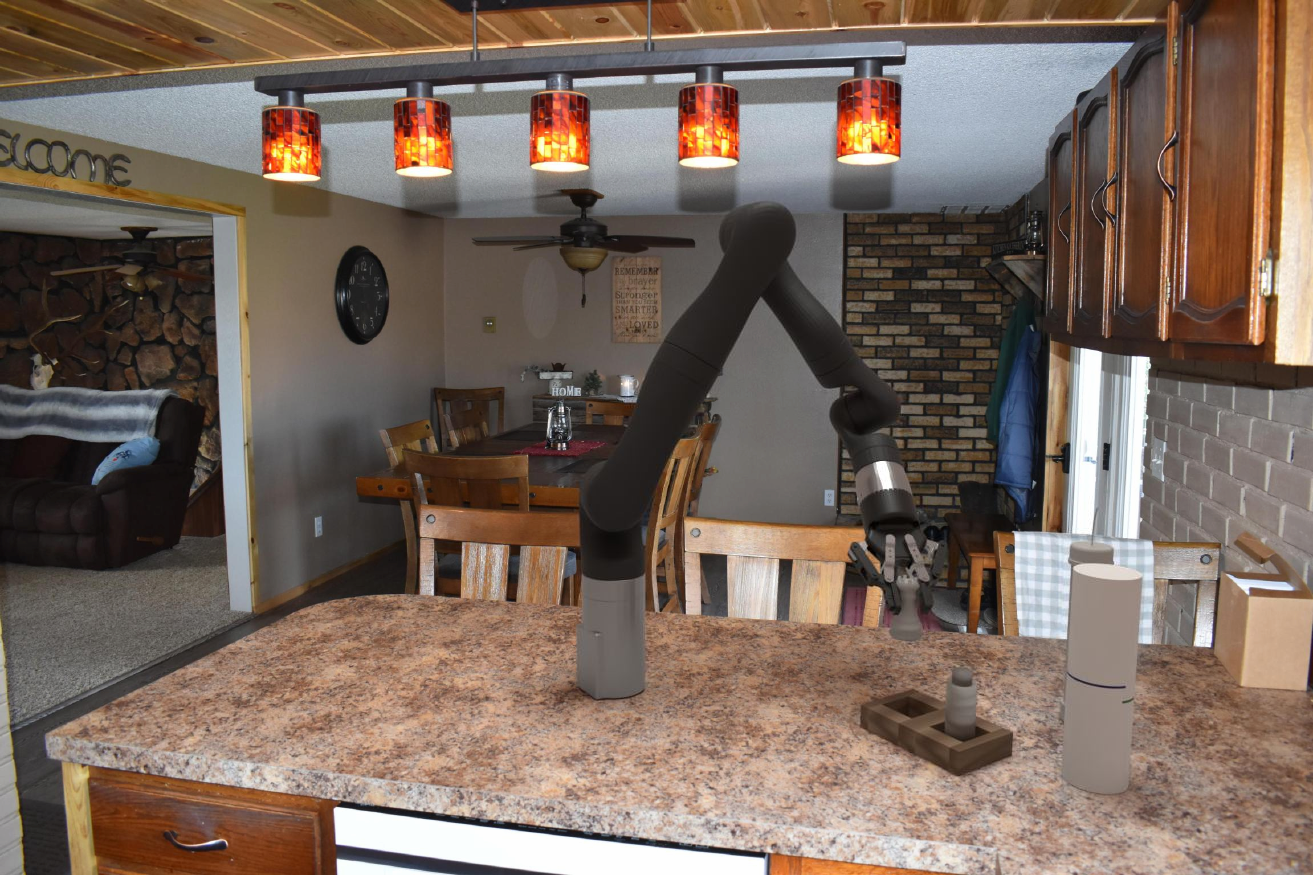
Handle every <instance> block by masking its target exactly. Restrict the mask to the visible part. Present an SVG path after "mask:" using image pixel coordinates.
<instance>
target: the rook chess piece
mask: <svg viewBox="0 0 1313 875" xmlns="http://www.w3.org/2000/svg"><path fill="white" fill-rule="evenodd" d="M907 576H908V575H907V574H902V575H898V576H897V579H896V581H895V582H894V583H896V585H897V590H898V594H899V598H900V603H901V611H900V613H899V615H892V619H891V620H890V622H889V625H888V626H889V627H890V629H889V630H888V633H889V635H890V637H891V638H893V639H895V640H897V641H903V642H917V641H919V640H921V638H922V637H923V636H924V633H923V632H922V630H923V628H924V627H923V623H922V622H921V621H920V620H921V618H919V615H918V609H917V608H918V607H917V600H918V599H917V598H918V596H917V595H916V590H917V589H918V588H919V587H920V585H919V583H918V582H917V577H914V576H911V575H910V576H909V577H907Z"/></svg>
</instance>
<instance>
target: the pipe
mask: <svg viewBox="0 0 1313 875" xmlns="http://www.w3.org/2000/svg"><path fill="white" fill-rule="evenodd" d="M1098 510H1099V506H1096V509H1095V512H1094V515H1093V516H1094V517H1093V522H1092V529H1091V530H1092V531H1091V540H1089V541H1087V540H1079V541H1078V540H1077V541H1074V542H1071V544H1070V545H1069V556H1068V558H1067V563H1068V565H1070V579H1069V581H1070V583H1069V598H1068V613H1067V615H1068V616H1067V628H1066V629H1067V632H1066V647H1065V648H1066V649H1065V665H1064V666H1065V667H1064V680H1063V681H1064V684H1063V696H1062V697H1060V699H1059V706H1060V715H1059V717H1060V719H1061V721H1062V722H1063V723H1064V715H1065V698H1066V681H1067V664H1068V647H1069V629H1070V612H1071V596H1072V579H1073V567H1074V566H1076V565H1079V564H1089V563H1096V564H1109V565H1115V561H1114V553H1115V547H1113V546H1112V545H1110V544H1108V543H1104V542H1099V541H1094V535H1095V534H1094V533H1095V527H1096V526H1095V525H1096V519H1097V514H1098Z"/></svg>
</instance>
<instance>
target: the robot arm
mask: <svg viewBox="0 0 1313 875" xmlns="http://www.w3.org/2000/svg"><path fill="white" fill-rule="evenodd" d="M796 239H797V226H796V221H795V218H794V216H793V214H792V213H791V211H790V210H789V209H788V208H787V207H786V206H785V205H784V204H782V203H779V202H775V201H770V200H762V201H755V202H752V203H747V204H744V205H741V206H740V205H739V206H737V207H736V208H734V209H732V210H731V211H729V212H728V213H727V214H726V215H725V217H724V218H723V219H722V221H721V223H720V226H719V230H718V240H719V245H720V249H721V251H722V253H723V257H722V259H721V261H720V263H719V265H718V267H717V269H716V271H715V272H714V275H713V276H712V278H711V279H710V281H709V282H708V284H707V285H706V287H705V288H704V289H703V291H702V292H701V293H699V295H698V296H697V297H696V298H695V299H694V300H693V302H692V303H691V304H690V305H689V306H688V307H687V308H686V309H685V311H683V313H682V314H681V315H680V316H679V318H678V319H677V320H676V321H675V323H674V324H673V326H672V327H671V328H670V329H669V331H668V333H667V334H666V336H665V337H664V338H663V341H662V342H661V344H660V346H659V348H658V349H657V352H656V353H655V354H654V357H653V358H652V361H651V363H650V364H649V367H648V369H647V371H646V373H645V376H644V378H643V381H642V383H641V386H640V389H639V392H638V394H637V398H636V401H635V405H634V408H633V411H632V415H631V417H630V420H629V422H628V425H627V427H626V429H625V431H624V433H623V435H622V437H620V440H619V442H617V444H616V447H615V448H614V449H613V451H612V452H611V453H610V456H608V458H607V460H601V461H600V462H597V463H595V464H593V465H592V466H591V467H589V468H588V470H587V471H586V472H584V475H583V476H582V479H581V481H580V485H579V488H578V490H579V491H578V494H579V495H578V515H579V516H578V518H579V521H578V523H579V550H580V552H579V553H580V560H581V562H580V563H581V564H580V565H581V622H579V623H577V624H576V628H575V629H576V686H577V687H578V688H579V689H581V690H582V691H584V692H585V693H587V694H588V695H589V696H591V697H592V698H594V699H595V700H601V699H622V698H629V697H632V696H635V695H638V694H639V693H641V692H642V691H643V690H644V689H646V554H645V548H644V541H643V524H642V523H643V520H642V519H643V517H644V516H645V514H646V512H647V510H648V508H649V506H650V504H651V501H652V499H653V496H654V494H655V491H656V489H657V487H658V485H659V482H660V481H661V478H662V476H663V474H664V471H665V468H666V466H667V464H668V462H669V460H670V458H671V455H672V453H673V452H674V450H675V449H676V448H677V447H676V446H677V445H679V444H678V443H679V442H680V440H681V439H682V437H683V436H684V434H685V433H686V431H687V430H688V428H689V427H690V425H691V423H692V421H693V420H694V419H695V417H696V415H697V413H698V411H699V410H700V408H701V406H702V405H703V403H704V401H705V400H706V399H707V396H708V395H709V393H710V392H711V390H712V389H713V386H714V384H715V383H716V381H717V379H718V377H719V375H720V373H721V371H723V370H722V369H724V365H725V363H726V362H727V359H728V357H729V355H730V354H731V352H732V350H733V349H734V346H736V343H737V342H738V339H739V338H740V336H741V333H742V331H744V330H743V329H745V326H746V324H747V322H748V320H749V317H750V316H751V314H752V312H753V310H754V308H755V307H756V305H757V303H758V302H759V300H760V299H762V300H763V301H764V302H765V304H766V305H767V306H768V309H770V310H771V311H772V313H773V314H774V316H775V318H776V319H777V320H778V322H779V323H780V324H781V326H782V327H783V329H784V331H785V332H786V333H787V335H788V336H789V338H790V339H791V341H792V342H793V343H794V345H795V347H796V348H797V350H798V351H799V352H798V353H800V355H801V357H802V358H803V360H804V361H805V364H807V366H808V368H809V369H810V371H811V373H812V374H813V375H814V377H815V379H816V381H817V382H818V384H820V386H821V387H822V388H824V389H826V390H827V389H829V390H832V389H838V388H843V387H853V388H856V389H855V390H853V391H851V392H848V393H846V394H845V395H842V396H840V397H837V398H836V399H835V400H834V401H833V402H832V404H831V406H830V408H829V414H828V418H829V421H830V423H831V425H832V427H833V430H834V431H835V432H836V434H837V436H839V438H840V439H841V441H842V444H843V445H844V448H846V451H847V453H848V456H849V458H850V462H851V466H852V472H853V475H854V480H855V494H856V497H857V498H856V502H857V505H858V507H859V512H860V517H861V521H862V525H863V531H864V534H865V536H864V537H865V538H864V540H863V541H861V542H858V541H852V542H851V543H850V545H849V548H848V551H847V553H846V554H847V557H848V558H849V560H850V562H851V563H852V564H853V566H854V568H856V570H857V572H858V573H859V575H860V576H861V577H862V579H863V581H864V583H866V585H867V586H868V587H871V588H874V587H876V588H880V589H881V591H882V594H883V598H884V603H885V604H884V605H885V608H886V610H887V611H888V612H891V615H892V616H894V615H899V613H900V611H901V603H900V598H899V594H898V589H897V585H896V583H895V582H894V579H895V570H894V569H895V568H899V567H900V568H904V569H905V570H906V573H907V574H908V575H907V576H909V577H910V575H911V576H914V577H917V582H918V583H919V585H920V587H919V588H918V589H917V590H916V595H917V596H918V598H917V599H916V600H917V602H918V607H919V611H920V614H921V615H923V616H927V615H929V613H930V611H931V610H932V608H933V607H934V605H935V604H934V603H935V601H934V597H933V593H932V589H931V586H932V587H934V586H936V585H937V584H938V581H939V580H940V578H941V577H942V575H943V571H944V566H945V560H946V555H947V549H948V543H947V542H946V540H942V539H941V540H939V541H938V542H936V541H933V540H930V539H928V538H927V537H928V536H926V534H925V533H924V532H923V531H922V528H921V523H920V519H919V518H920V517H919V515H918V511H917V507H916V502H915V499H914V497H913V492H912V489H911V485H910V481H909V478H908V476H907V473H906V472H905V469H904V465H903V461H902V456H901V453H900V449H899V446H898V443H897V441H896V439H895V438H894V437H893V436H891V435H890V434H887V433H883V432H878V431H880V430H882V429H885V428H887V427H890V426H892V425H893V424H895V423H896V422H897V421H898V420H899V418H900V417H901V412H902V404H901V400H900V398H899V396H898V394H897V393H896V391H895V389H894V388H892V387H891V386H890V384H888V383H887V381H885V380H884V379H883V378H881V377H880V376H879V375H878V374H877V373H876V372H875V371H873V370H872V368H870V367H869V366H868V365H867V364H866V363H865V361H864V360H863V359H862V358H861V357H860V356H859V354H858V352H857V351H856V350H855V348H854V346H853V344H852V342H851V341H850V339H849V338H848V336H847V335H846V333H845V332H844V330H843V328H842V327H841V325H840V324H839V322H838V321H837V320H836V319H835V318H834V316H833V315H832V313H830V312H829V311H828V309H827V308H826V307H825V306H824V305H823V304H822V303H821V302H820V301H819V300H818V299H817V298H816V297H815V296H814V295H813V294H812V293H811V292H810V290H809V289H808V288H807V287H806V285H804V283H802V281H801V280H800V278H799V277H798V275H797V273H796V272H795V271H794V270H793V267H792V266H791V264H790V263H789V259H788V258H789V257H790V255H791V253H792V251H793V249H794V246H795V243H796ZM924 549H925V550H926V551H927V554H928V558H929V559H931V562H930V568H929V572H928V571H927V569H926V567H925V561H924V558H923V556H922V553H923V551H924ZM868 552H869V553H870V555H872V556H873V557H874V558H875V559H876V560H877V561H878V562H879V571H878V569H877V568H876V566H875V564H874V563H873V562H872V560H871V559H870V557H869V556H868V555H869V553H868Z"/></svg>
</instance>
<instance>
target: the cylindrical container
mask: <svg viewBox="0 0 1313 875" xmlns="http://www.w3.org/2000/svg"><path fill="white" fill-rule="evenodd" d="M1143 577H1144V575H1143V573H1141V571H1138V570H1136V569H1133V568H1130V567H1125V566H1121V565H1116V564H1114V565H1109V564H1096V563H1089V564H1079V565H1076V566H1074V567H1073V579H1072V596H1071V612H1070V629H1069V647H1068V664H1067V681H1066V698H1065V715H1064V722H1063V736H1062V738H1063V739H1062V749H1061V751H1062V753H1061V769H1060V774H1061V777H1062V779H1063V780H1064V781H1065V782H1067V784H1070V785H1071V786H1073V787H1074V788H1076V789H1080V790H1083V791H1085V790H1086V791H1085V792H1089V793H1092V794H1098V795H1118V794H1122V793H1124V792H1126V791H1127V790H1128V789H1129V783H1130V766H1131V756H1132V755H1131V754H1132V753H1131V752H1132V751H1131V750H1132V738H1133V736H1132V735H1133V725H1134V724H1133V722H1134V707H1135V696H1136V695H1135V692H1136V680H1137V678H1136V677H1137V664H1138V662H1137V661H1138V650H1139V634H1140V623H1141V622H1140V619H1141V608H1142V607H1141V606H1142V605H1141V604H1142V592H1143V591H1142V590H1143Z"/></svg>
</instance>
